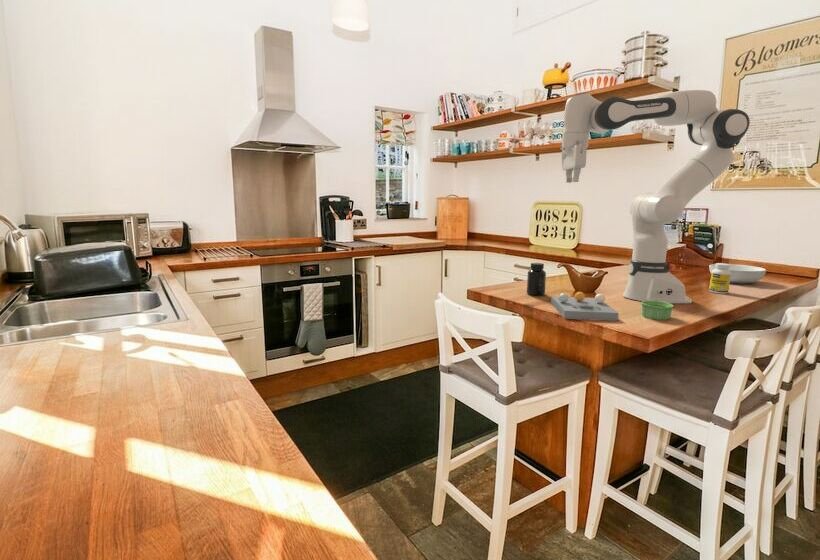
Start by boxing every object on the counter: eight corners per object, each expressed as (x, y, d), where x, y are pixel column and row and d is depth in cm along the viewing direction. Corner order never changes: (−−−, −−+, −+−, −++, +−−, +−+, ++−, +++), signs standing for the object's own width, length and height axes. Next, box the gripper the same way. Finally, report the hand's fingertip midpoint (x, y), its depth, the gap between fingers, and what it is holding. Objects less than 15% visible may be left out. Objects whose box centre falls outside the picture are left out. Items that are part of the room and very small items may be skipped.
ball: (582, 300, 152) (583, 291, 151) (585, 302, 149) (586, 293, 148) (573, 299, 152) (574, 290, 152) (575, 302, 149) (576, 292, 148)
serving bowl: (712, 275, 217) (714, 262, 216) (766, 282, 203) (769, 267, 202) (702, 281, 203) (704, 266, 202) (759, 288, 188) (762, 272, 187)
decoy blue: (566, 301, 150) (567, 292, 149) (569, 303, 146) (570, 294, 146) (557, 301, 150) (557, 292, 149) (559, 303, 147) (560, 294, 146)
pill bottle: (705, 291, 181) (709, 263, 179) (714, 290, 184) (718, 262, 182) (722, 294, 175) (726, 265, 173) (731, 293, 178) (736, 264, 176)
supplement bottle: (542, 292, 175) (545, 262, 172) (546, 296, 168) (548, 265, 166) (525, 292, 175) (527, 262, 173) (527, 295, 169) (529, 264, 166)
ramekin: (665, 314, 146) (666, 301, 145) (676, 321, 137) (678, 308, 136) (635, 312, 147) (637, 299, 146) (645, 320, 138) (646, 306, 137)
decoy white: (602, 302, 149) (603, 293, 149) (606, 304, 146) (606, 295, 146) (593, 301, 150) (593, 292, 149) (595, 304, 146) (596, 294, 146)
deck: (550, 303, 158) (551, 296, 157) (597, 304, 156) (598, 298, 155) (564, 318, 138) (564, 310, 138) (617, 320, 136) (618, 312, 136)
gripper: (592, 138, 147) (589, 181, 149) (577, 145, 167) (574, 183, 169) (573, 138, 147) (569, 181, 150) (559, 145, 167) (557, 183, 170)
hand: (572, 182), depth 160 cm, fingers open, 8 cm apart
